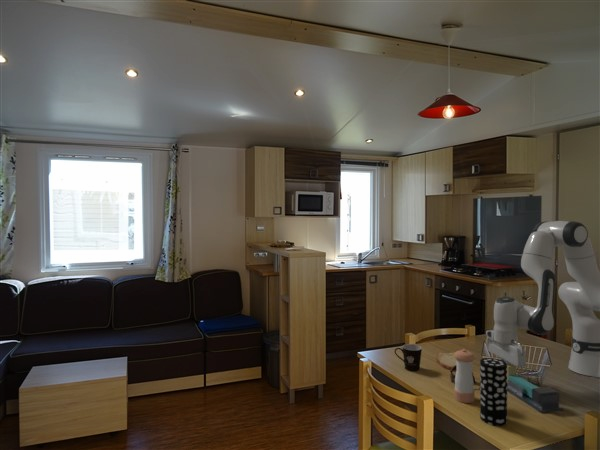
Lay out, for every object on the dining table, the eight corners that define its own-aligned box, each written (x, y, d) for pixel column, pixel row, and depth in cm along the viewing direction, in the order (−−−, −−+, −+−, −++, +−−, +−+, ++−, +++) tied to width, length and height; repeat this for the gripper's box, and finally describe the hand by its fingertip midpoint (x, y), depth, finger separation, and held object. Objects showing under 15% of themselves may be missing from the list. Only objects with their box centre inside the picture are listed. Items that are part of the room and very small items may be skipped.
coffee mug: (425, 369, 181) (425, 347, 181) (414, 373, 176) (413, 351, 176) (405, 361, 191) (405, 341, 190) (393, 366, 186) (393, 345, 185)
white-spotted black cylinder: (503, 428, 131) (503, 368, 130) (477, 420, 136) (477, 363, 136) (509, 418, 137) (509, 361, 136) (484, 411, 142) (484, 356, 142)
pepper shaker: (455, 393, 157) (455, 345, 157) (475, 397, 153) (475, 348, 153) (452, 400, 151) (452, 350, 150) (473, 405, 147) (473, 353, 147)
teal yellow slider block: (512, 381, 164) (512, 364, 164) (540, 397, 149) (540, 379, 149) (505, 381, 164) (505, 365, 163) (532, 398, 149) (532, 379, 149)
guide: (516, 382, 166) (516, 367, 166) (563, 410, 142) (563, 393, 142) (497, 384, 164) (497, 369, 164) (541, 412, 141) (541, 395, 141)
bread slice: (457, 374, 176) (457, 365, 176) (424, 362, 191) (424, 354, 191) (479, 364, 187) (480, 357, 187) (446, 354, 202) (446, 346, 201)
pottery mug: (480, 387, 163) (473, 372, 161) (458, 396, 164) (451, 381, 163) (470, 369, 174) (462, 354, 172) (449, 377, 176) (442, 363, 174)
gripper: (530, 344, 156) (530, 379, 156) (496, 329, 176) (496, 360, 176) (515, 345, 155) (515, 380, 155) (483, 330, 175) (483, 361, 175)
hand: (505, 369), depth 166 cm, fingers closed
